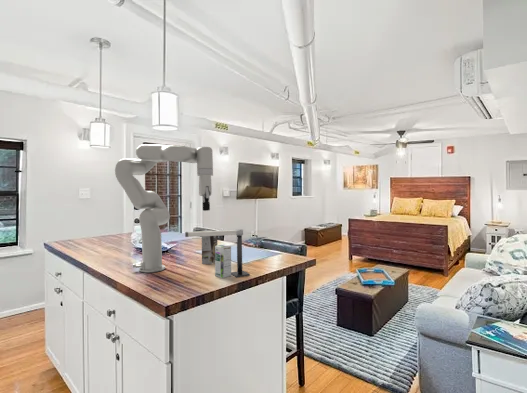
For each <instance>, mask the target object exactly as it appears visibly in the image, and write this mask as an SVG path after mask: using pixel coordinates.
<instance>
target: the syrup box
mask: <svg viewBox="0 0 527 393" xmlns="http://www.w3.org/2000/svg"><path fill="white" fill-rule="evenodd" d="M214 270H215V271H214V273H215V274H214V275H215V277H219V278H221V279H225V278H227V277H232V275H231V272H232V246H231V245H227V244H217V246H215V263H214Z"/></svg>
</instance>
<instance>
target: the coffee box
mask: <svg viewBox="0 0 527 393" xmlns="http://www.w3.org/2000/svg"><path fill="white" fill-rule="evenodd" d="M217 245H218V236H201V264H203V265H213V264H215V246H217Z"/></svg>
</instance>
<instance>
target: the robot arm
mask: <svg viewBox="0 0 527 393" xmlns="http://www.w3.org/2000/svg"><path fill="white" fill-rule="evenodd" d="M135 155H136V157H137V158H131V157H130V158H129V157H127V158H126V157H125V158H121V159H119V160H118V161H117V163H116V164H115V167H114V168H115V169H114V173H115V174H114V175H115V178H116V180H117V182H118V183H119V184H120V186H121V187H122V188H123V190H124V192H125V194H126V196H127V197H128V199H129V200H130V202H131V204H132V206H133V207H134V208H135V209H137V210H143V211H141V212H140V214H139V218H138V219H139V225H140V230H141V252H142V253H141V254H142V257H141V258H142V260H141V261H140V262H138V263H132V268H133V269H134V268H135V269H137V268H138V270H139V272H141V273H157V272H162V271H164V270H165V269H166V265H164V264H163V257H162V256H163V254H162V252H163V250H162V247H163V246H162V245H163V244H162V231H161V229H160V226H163V225H166V224H167V223H168V222H169V221H170V218H171V215H170V211H169V210H168V208H167V206H166V204H165V203H164V201H163V200H162V198H161V197H160V195H159V194H158V193H157V192H155V191H154V190H153V191H152V190H145V189H144V187H143V186H142V184H141V182H140V181H139V180H138V179H137V178H136V177H135V176H144V175H145V174H147V173H148V172H149V171H151V170H152V169H153V167H154V166H156V165H157V164H158V163H167V162H180V163H186V164H187V163H189V164H196V167H197V168H196V170H197V171H196V172H197V173H196V174H197V177H198V195H199V197H202V211H204V212H206V211H207V212H208V211H210V210H211V208H210V207H211V206H210V204H211V203H210V202H211V201H210V196H212V193H213V192H212V187H213V186H212V177H213V176H214V158H213V157H214V156H213V149H212V147H209V146H200V147H197V148H195V147H191V146H186V145H174V144H173V145H171V144H169V145H166V144H146V143H145V144H140V145H138V147H136V149H135Z"/></svg>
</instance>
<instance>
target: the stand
mask: <svg viewBox="0 0 527 393" xmlns="http://www.w3.org/2000/svg"><path fill="white" fill-rule="evenodd" d="M236 267H237V269H236V271H231V277H232V276H233V277H234V278H243V277H248V276H250V273H249V272H247V271H245V270H243V235H236Z"/></svg>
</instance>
